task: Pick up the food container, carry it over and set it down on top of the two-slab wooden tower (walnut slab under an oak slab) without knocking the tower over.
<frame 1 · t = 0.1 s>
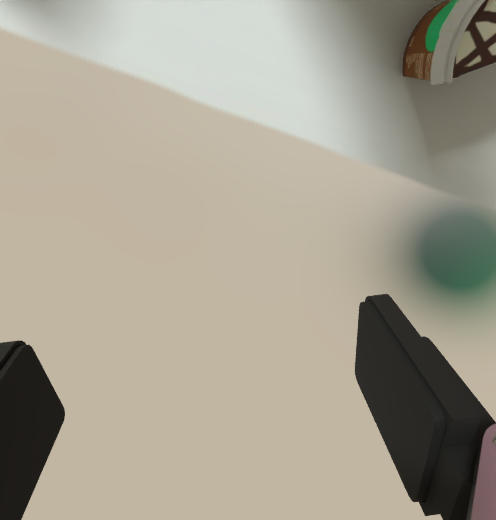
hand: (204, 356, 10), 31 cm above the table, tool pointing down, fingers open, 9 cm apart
food container: (445, 24, 34), on the table
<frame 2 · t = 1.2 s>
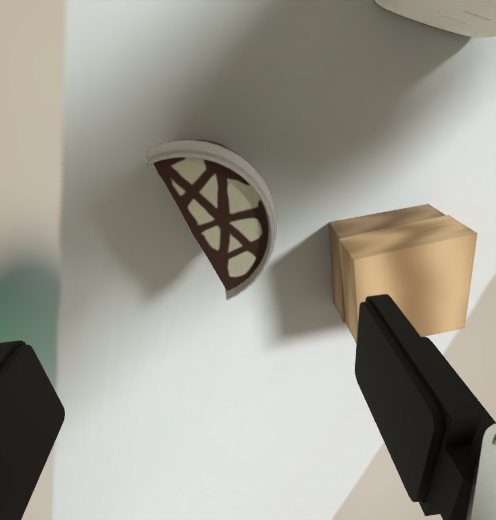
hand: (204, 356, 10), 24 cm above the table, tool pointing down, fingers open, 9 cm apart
oak slab: (393, 273, 34), point 4 cm above the table, touching walnut slab
food container: (228, 178, 32), on the table
walnut slab: (376, 254, 38), on the table, touching oak slab
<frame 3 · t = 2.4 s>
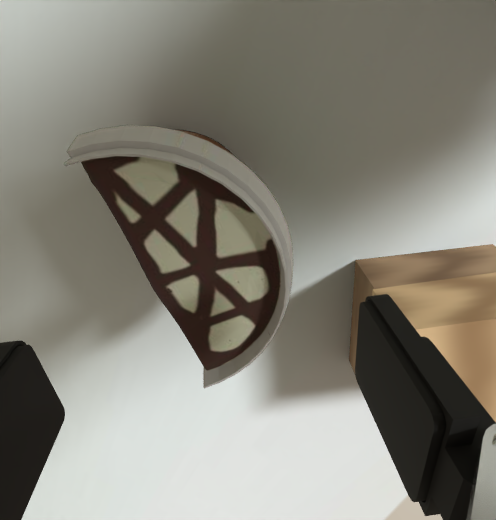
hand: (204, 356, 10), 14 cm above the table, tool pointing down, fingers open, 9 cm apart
oak slab: (439, 337, 25), point 4 cm above the table, touching walnut slab
food container: (221, 189, 22), on the table
walnut slab: (412, 304, 28), on the table, touching oak slab
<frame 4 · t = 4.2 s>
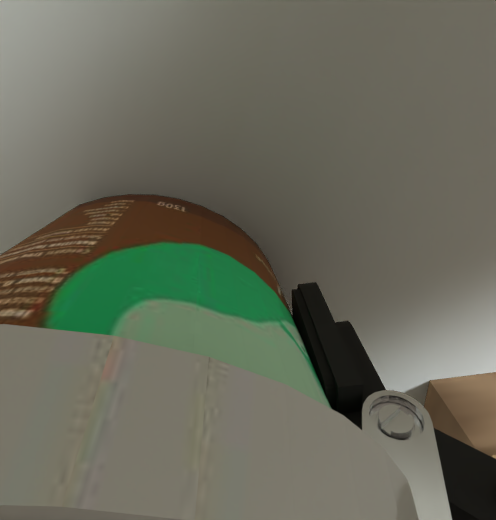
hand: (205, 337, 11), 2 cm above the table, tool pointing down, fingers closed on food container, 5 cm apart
food container: (225, 287, 13), on the table, touching gripper
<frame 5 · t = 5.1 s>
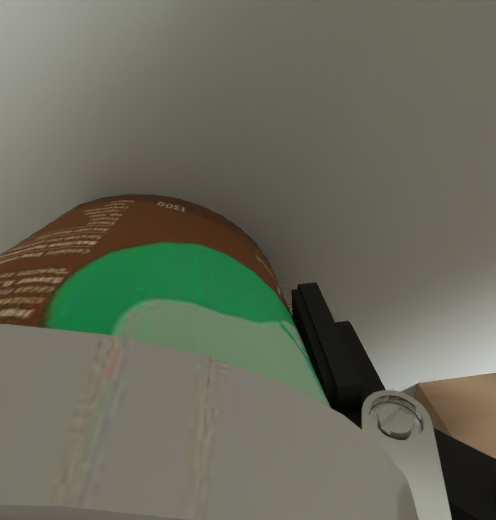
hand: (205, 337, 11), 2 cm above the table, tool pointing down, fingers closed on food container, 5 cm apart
food container: (224, 287, 13), on the table, touching gripper
walnut slab: (491, 430, 19), on the table, touching oak slab
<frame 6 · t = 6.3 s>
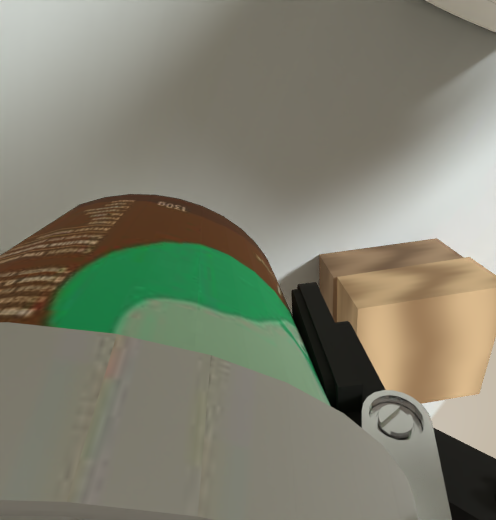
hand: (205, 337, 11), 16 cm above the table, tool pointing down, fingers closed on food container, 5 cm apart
oak slab: (397, 320, 28), point 4 cm above the table, touching walnut slab
food container: (225, 287, 13), point 14 cm above the table, touching gripper
walnut slab: (372, 294, 32), on the table, touching oak slab
when the fingers open (11 cm above the table, at t = 10.8 s): food container drops 1 cm, resting on oak slab.
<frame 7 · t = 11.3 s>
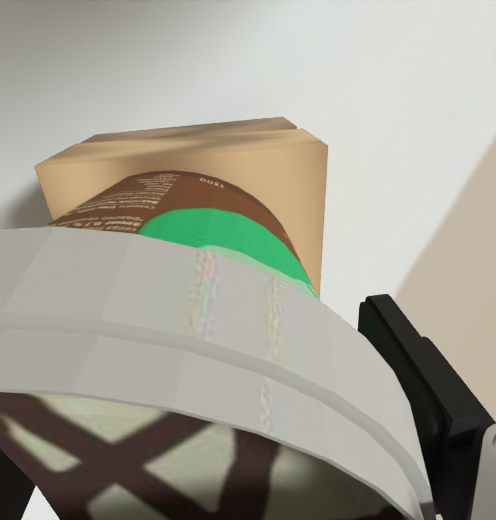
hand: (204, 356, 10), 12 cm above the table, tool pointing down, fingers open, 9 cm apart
oak slab: (203, 238, 18), point 4 cm above the table, touching food container, walnut slab
food container: (248, 263, 14), point 8 cm above the table, touching gripper, oak slab
walnut slab: (203, 211, 21), on the table, touching oak slab
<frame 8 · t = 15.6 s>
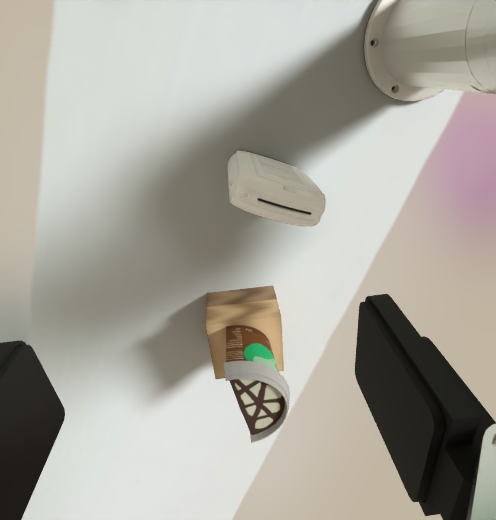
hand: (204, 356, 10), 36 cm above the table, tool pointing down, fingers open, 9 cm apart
oak slab: (244, 330, 52), point 3 cm above the table, touching food container, walnut slab
food container: (256, 345, 49), point 7 cm above the table, touching oak slab
photo printer: (265, 173, 45), on the table
walnut slab: (242, 313, 56), on the table, touching oak slab
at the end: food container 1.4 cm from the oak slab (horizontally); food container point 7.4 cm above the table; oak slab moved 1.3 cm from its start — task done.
